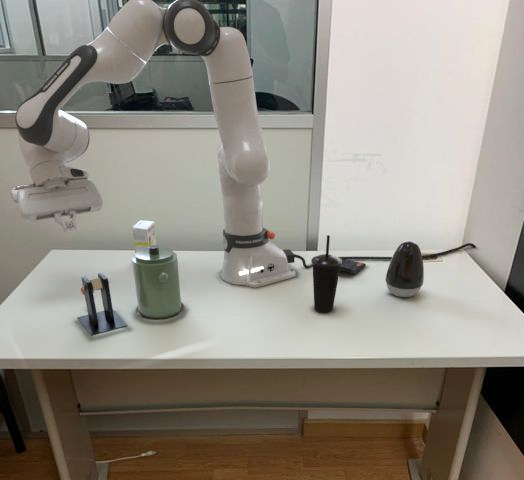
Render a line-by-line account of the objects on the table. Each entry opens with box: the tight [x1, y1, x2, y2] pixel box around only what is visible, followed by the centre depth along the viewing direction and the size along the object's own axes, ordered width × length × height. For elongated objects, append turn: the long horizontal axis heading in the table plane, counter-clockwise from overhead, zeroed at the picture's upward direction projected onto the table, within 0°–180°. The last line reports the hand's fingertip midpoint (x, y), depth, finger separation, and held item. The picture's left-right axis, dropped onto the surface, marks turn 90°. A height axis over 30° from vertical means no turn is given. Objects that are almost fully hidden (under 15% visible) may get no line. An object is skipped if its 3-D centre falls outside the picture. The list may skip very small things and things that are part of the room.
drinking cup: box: [310, 234, 342, 314], centre depth 135 cm, size 8×8×20 cm
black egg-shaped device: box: [384, 240, 425, 298], centre depth 144 cm, size 10×10×15 cm
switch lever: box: [80, 277, 103, 297], centre depth 131 cm, size 13×3×3 cm, turn 33°
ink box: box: [131, 219, 157, 254], centre depth 167 cm, size 9×5×12 cm, turn 174°
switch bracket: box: [76, 272, 128, 337], centre depth 129 cm, size 11×9×13 cm
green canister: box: [131, 244, 185, 321], centre depth 133 cm, size 18×12×18 cm
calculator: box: [339, 258, 366, 275], centre depth 162 cm, size 9×12×3 cm
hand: (70, 229), depth 132 cm, fingers closed
